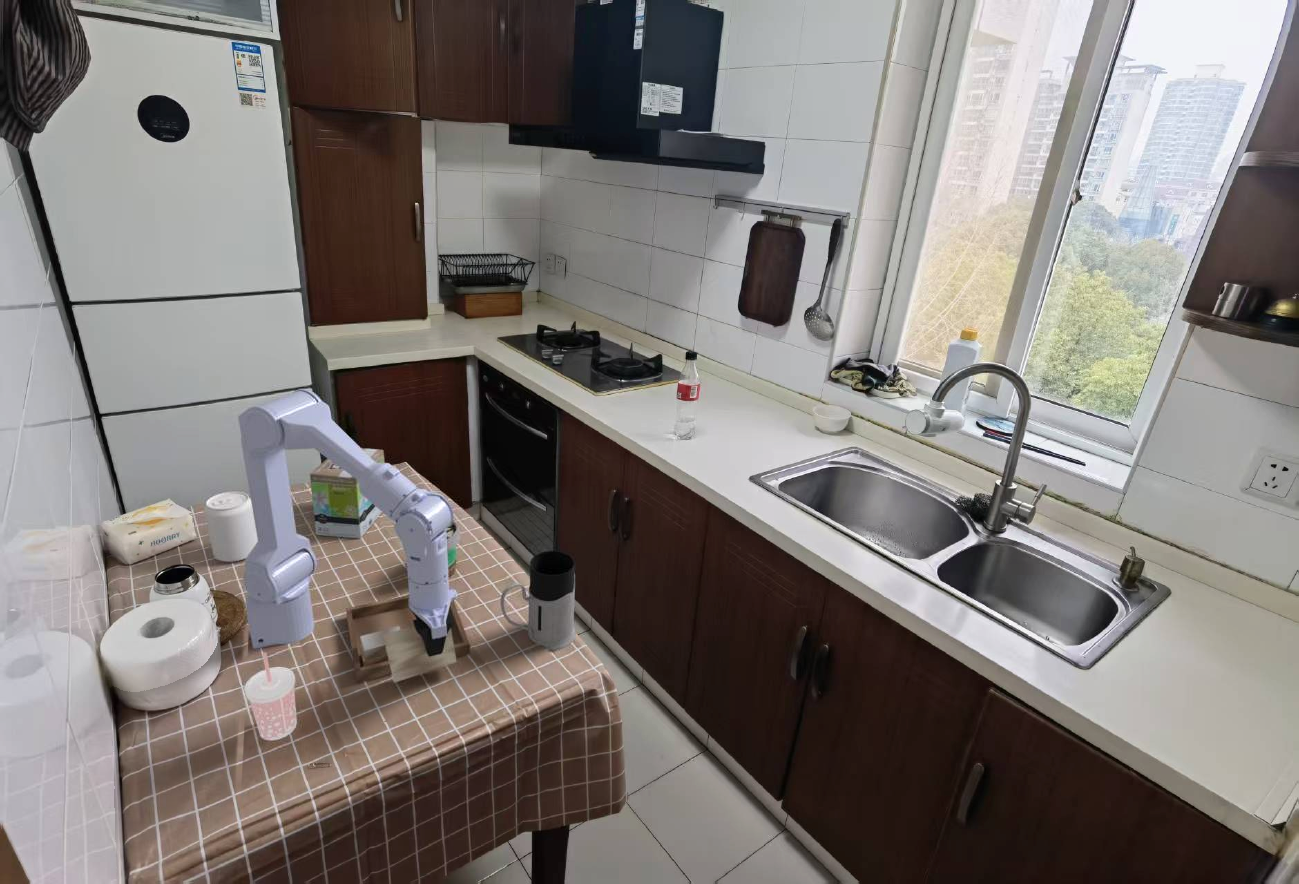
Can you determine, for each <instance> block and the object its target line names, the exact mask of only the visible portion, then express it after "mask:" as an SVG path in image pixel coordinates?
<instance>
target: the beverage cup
mask: <svg viewBox="0 0 1299 884" xmlns="http://www.w3.org/2000/svg"><path fill="white" fill-rule="evenodd" d="M262 658H263V662H264V663H263V664H264V668H265V669H264V670H260V671H258V672H257V673H255V674H254V675H252V676H251V677H250V678H249V679H248V680H247V681H246V682H245V684H244V688H243V691H244V693H245V696H246V699H247V700H248V701H249V702H250V707H251V709H252V713H253V716H254V719H255V722H256V726H257V730H258V732H259V735H260V737H261V738H262V739H263V740H266V741H276V740H281V739H284V738H286V737H288V735H290V734H291V733H292V732H293V731H294V730H295V729H296V727H297V723H298V722H297V721H298V720H297V708H296V695H295V684H296V676H295V675H296V674H295V673H294V671H293V670H292V669H290V668H288V667H283V666H276V667H275V666H274V667H270V665H269V660H268V654H267V652H265V651H264V652H263V653H262Z"/></svg>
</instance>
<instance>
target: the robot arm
mask: <svg viewBox="0 0 1299 884" xmlns="http://www.w3.org/2000/svg"><path fill="white" fill-rule="evenodd" d="M331 413H332V412H331V409H330V406H329V404H327V403H325V402H324V401H323V400H322V399H321V398H320V397H319V395H317V394H316V393H315V392H313V391H312V390H310V389H306V388H299V389H297V390H295V391H293V392H291V393H289V394H286V395H283V396H281V397H278V398H274V399H271V400H270V401H267V402H264V403H262V404H258V405H254V406H251V407H249V408H247V409H246V410H245V411H244V412H242V413H240V414H239V415H238V417H237V418H238V419H237V420H238V423H239V424H238V425H239V430H240V443H241V449H242V454H243V459H244V466H245V473H246V477H247V484H248V490H249V498H250V499H251V503H252V509H253V514H254V520H255V526H256V532H257V538H258V542H257V543H256V545H255V546H254V548H253V549H252V551H251V552H250V553H249V555H248V556H247V558H246V559H244V565H245V571H244V574H243V585H244V588H245V590H246V592H247V594H246V596H245V606H246V607H245V609H246V610H245V611H246V617H247V624H248V632H249V636H250V638H251V645H252V649H255V650H256V649H261V648H265V647H269V646H270V647H271V646H275V645H286V644H294V643H297V642H299V641H301V640H303V639H305V638H307V637H308V636H309V635H310V634H312V632H313V631H314V629H315V620H314V612H313V607H312V601H311V600H312V599H311V592H310V583H311V582H312V574H314V573H315V571H317V567H318V561H317V557H316V554H315V553H314V551H313V549H312V547H311V543H310V541H311V540H310V539H309V538H308V537H306V536H304V535H302V534H299V533H297V528H296V522H295V515H294V507H293V501H292V500H293V499H292V494H291V485H290V480H289V471H288V466H287V459H286V452H285V451H293V450H307V449H309V450H310V449H312V450H315V451H317V452H318V453H320V454H321V455H322V456H323V457H325V458H326V459H329V460H331V461H332V462H333V463H335V464H336V465H338V466H339V467H340V468H342V469H343V470H345V471H346V472H347V473H349V474H350V475H352V476H353V477H354V478H356V479H357V480H358V482H359V491H360V493H361V494H362V495H363V496H364V497H365V498H367V499H368V500H369V501H370V502H371V503H372V504H374V505H375V506H376V507H377V508H378V509H380V510H381V511H382V513H383V514H384V515H385V516H386V517H387V518H389V519H390V520H392V522H394V523H395V524H393V528H394V532H395V534H396V535H397V537H398V539H400V541H401V542H402V549H403V552H404V553H405V557H406V567H407V569H406V570H407V580H408V581H407V582H408V595H409V600H408V605H409V609H410V610H411V611H412V613H413V614H414V615H415V617H416V620H413V623H414V627H415V629H416V631H417V633H418V634H419V635H420V636H421V637H422V639H423V641H424V645H425V648H426V652H427V654H428V656H429V657H431V656H435V655H439V654H442V652H443V649H444V645H445V640H446V636H447V634H448V632H449V630H450V628H451V627H452V626H453V623H454V618H453V615H452V614H449V615H448V611H449V607H450V603H451V601H456V600H457V599H458V598H459V596H458V592H457V590H456V589H454V588H452V589H450V580H449V579H450V577H449V578H448V557H447V537H446V530H445V529H446V528H447V527H448V526H449V525H450V524H451V523H452V521H454V510H453V509H454V508H453V507H452V505H451V504H450V502H449V501H448V499H446V498H445V497H444V495H442V494H441V493H439V492H434V491H428V490H427V489H426V488H420V487H418V486H417V485H416V484H415V483H413V482H412V481H411V480H410V479H409V478H407V476H405V475H404V474H403V473H402V472H400V470H399V469H398V468H397V467H396V466H395V465H394V466H393V465H391V464H390V462H384V463H376V462H374V461H373V460H372V459H371V458H370V457H369V456H368V455H367V454H366V453H365V452H364V451H363V450H362V449H361V448H362V447H360V445H358V444H357V442H355V441H354V439H352V437H350V436H349V435H348V434H347V433H346V432H345V431H344V430H343V429H342V428H341V427H340V426H339V425H338V424H337V423H336V422H335V421H334V420H333V418H332V414H331Z"/></svg>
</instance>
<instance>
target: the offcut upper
mask: <svg viewBox="0 0 1299 884" xmlns="http://www.w3.org/2000/svg"><path fill="white" fill-rule="evenodd" d="M398 630H400V627H399V626H397V627H393V628H389V629H386V630H382V631H378V632H374V633H371V634H367V635H363V636H360V639H361V647H362V650H363V654H364V657H365V660H366V661H367V660H370V659H374V658H377V657H381V656H384V655H387V650H386V646H385V641H384V637H383V635H385V634H388V633H391V632H395V631H398Z"/></svg>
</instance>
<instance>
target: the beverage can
mask: <svg viewBox="0 0 1299 884" xmlns="http://www.w3.org/2000/svg"><path fill="white" fill-rule="evenodd" d="M203 510H204V511H203V512H204V517H205V521H206V525H207V529H208V535H209V542H210V545H211V550H212V554H213V557H214V558H215V559H216V560H218V561H221V562H227V563H229V562H239V561H242V560H246V558H247V556H248V555H249V553H250V552H251V551H252V549H253V548H254V546H255V545H256V543H257V542H258V538H257V532H256V526H255V520H254V514H253V509H252V503H251V497H250V495H249V494H247V493H246V492H243V491H228V492H227V491H226V492H222V493H218V494H215V495H213V496H211V497H210V498H208V499H207V500H206V503H205V507H204V509H203Z"/></svg>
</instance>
